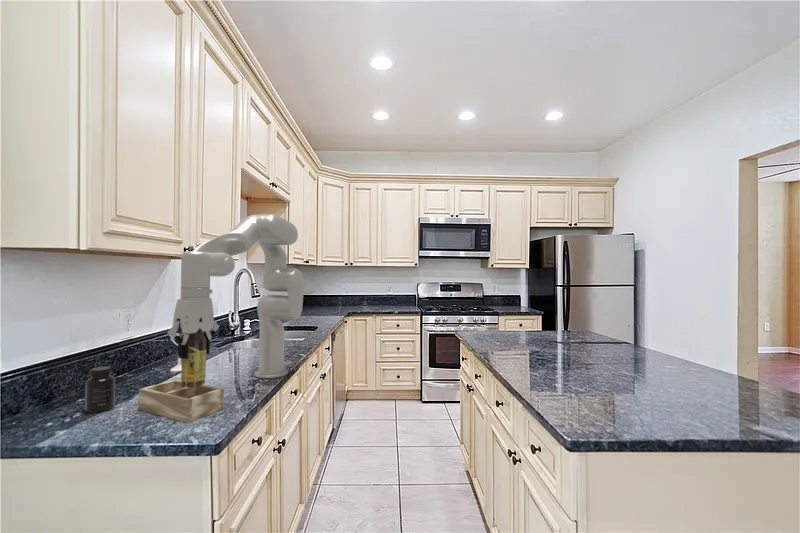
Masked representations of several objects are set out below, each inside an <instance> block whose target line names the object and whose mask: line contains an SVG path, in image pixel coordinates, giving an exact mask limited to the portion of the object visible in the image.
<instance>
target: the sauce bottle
mask: <svg viewBox="0 0 800 533" xmlns="http://www.w3.org/2000/svg"><path fill="white" fill-rule="evenodd" d="M199 322H202V318H200V320H199ZM186 344H188V358H187V359H181V365H182V369H181V371H180V373H181V374H180V380H181V381H182V382H181V384H182V386H183V387H197V386H200V385H205V383H206V381H205V380H206V372H207V371H206V369H207V354H206V352H207V349H206V344H207V339H206V337H205V336H204V334H203V332H202V330H201V329H200V328H199V330H198V331H197V332H196V333H194V334H189V337H188V340H187V342H186Z"/></svg>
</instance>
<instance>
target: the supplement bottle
mask: <svg viewBox="0 0 800 533" xmlns="http://www.w3.org/2000/svg"><path fill="white" fill-rule="evenodd" d="M89 373H90V374H89V377H90V378H89V379H87V380H86V381H85V390H84V391H85V392H84V393H85V394H84V395H85V396H84V397H85V399H84V401H85V402H84V403H85V404H84V411H85V412H86V413H88V414H99V413H103V412H107V411H110V410H112V409H113V408H114V407H115V402H116V398H115V397H116V377H114V375H112V367H111V366H98V367H93V368H91V369H90V371H89ZM98 412H99V413H98Z"/></svg>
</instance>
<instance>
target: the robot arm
mask: <svg viewBox="0 0 800 533" xmlns="http://www.w3.org/2000/svg"><path fill="white" fill-rule="evenodd" d="M298 237H299V234H298V229H297V227H296V225H295V224H293V223H292V222H291V221H289V220H287V219H285V218H283V217H281V216H279V215H276V214H273V213H272V214H271V213H270V214H268V213H267V214H263V213H262V214H250V215H248V216H246V217H245V218H243V219H242V220H241V221H240V222H239V223H238V224H237V225H235V226H234V227H233V228H232V229H231V230H230V231H228V232H226V233H223V234H220V235H218V236H216V237H214V238H211V239H209V240H206V241H204V242H202V243H200V244H199V245H198V246H197V247H195V248H194V249H193V250H191V251H189V250H188V251H184V252H183V253H182V254H181V258H180V298H179V299H177V300H176V303H175V308H174V312H175V313H174V312H173V316H174V321H173V320H172V324H173V327H172V326H171V328H170V329H169V330H168V331H167V336H169V337H170V339H171V338H172V339H173V340H174V341H175V342H176V344H178V346H177V358H178V357H179V358H181V360H182V359H187V358H188V344H186V342H187V340H188V337H189V334H194V333H196V332H197V331H198V330H199V328H200V329H201V330H202V332H203V334H204V336H205V337H206V339H207V344H206V349H207V352H206V355H210V349H211V348H210V347H211V340H213V337H214V336H215V335H216V332H217V331H218V329H219V328H220V325H219V324H218V323H217V322H216V321H215V317H214V316H215V315H214V305H213V300H212V298H211V294H213V289H211V277H226V276H228V275H230V274H231V273H233V271H234V269H235V266H236V262H235V260H234V258H233V257H232V256H237V255H240V254H243V253H246V252H247V251H249V250H250V249H251V248H252V247H253V246H254V244H256V242H257V243H258V245H259V246H260V247H261V249H262V252H263V254H264V265H263V266H264V268H263V282H262V284H263V287H264V289H265V290H266V291H269V292H275V293H276V292H277V293H278V292H279V293H282V292H284V293H287V295H285V294H284V295H283V294H267V295H264V296H262V297H261V298H260V299H258V301H257V306H256V308H257V310H256V311H257V315H258V322H259V340H258V341H259V342H258V344H259V346H258V349H259V350H258V352H259V353H258V369H257V370H256V371H255V372H254V377H256V378H259V379H276V377H277V378H281V377H284V376H287V375H288V373H289V370H288V369H286V367H289V366H292V360H285V332H286V330H285V326H284V324H283V323H282V321H281V320H288V321H289V320H293V321H294V320H297V319H299V318H300V317H301V315H302V311H303V304H304V287H305V279H304V275H303V272H302V271H301V270H300V269H298V268H295V267H294V268H293V267H292V268H291V267H290V268H289V267H287V266H288V264H287V261H288V259H287V258H288V257H287V254H286V251H285V250H284V249H283V247H282V246H291V245H294V244H295V243H296V242H297V241H298ZM200 318H202V322H199V320H200ZM176 333H177V334H179V335H177V334H176ZM176 344H175V345H176Z"/></svg>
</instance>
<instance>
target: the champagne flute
mask: <svg viewBox="0 0 800 533" xmlns="http://www.w3.org/2000/svg"><path fill="white" fill-rule="evenodd" d="M174 313H175V311H173V314H174ZM173 321H174V315H173V317H172V322H173ZM172 327H173V323H172V326H171V328H172ZM176 334H177V333H176ZM177 335H179V334H177ZM170 340H171V342H172V343H174V344H175V345H176V346H177V347H178V344H176V342H175V341H174V340H173V339H172V338H171V337H170ZM181 369H182V359H181V358H179V357H178V356H177V364H176V365H175V366H174V367H172V368H170V370H169V371H171V372H181Z"/></svg>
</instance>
